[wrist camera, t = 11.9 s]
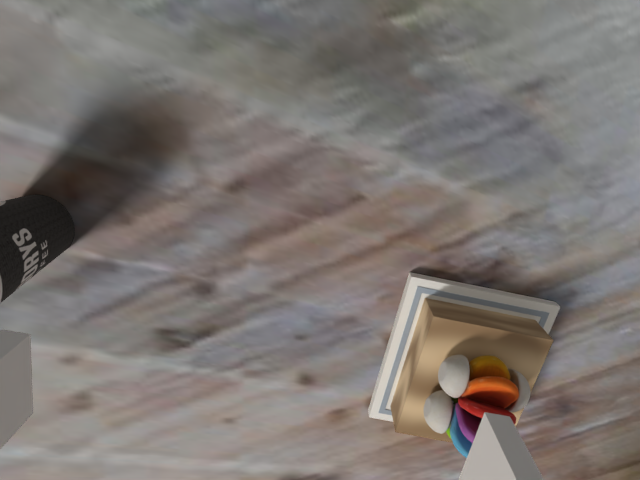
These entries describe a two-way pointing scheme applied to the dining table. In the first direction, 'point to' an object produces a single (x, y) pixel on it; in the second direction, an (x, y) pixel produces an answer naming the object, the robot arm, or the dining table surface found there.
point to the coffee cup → (30, 238)
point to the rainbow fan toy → (473, 396)
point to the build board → (452, 293)
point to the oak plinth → (461, 339)
